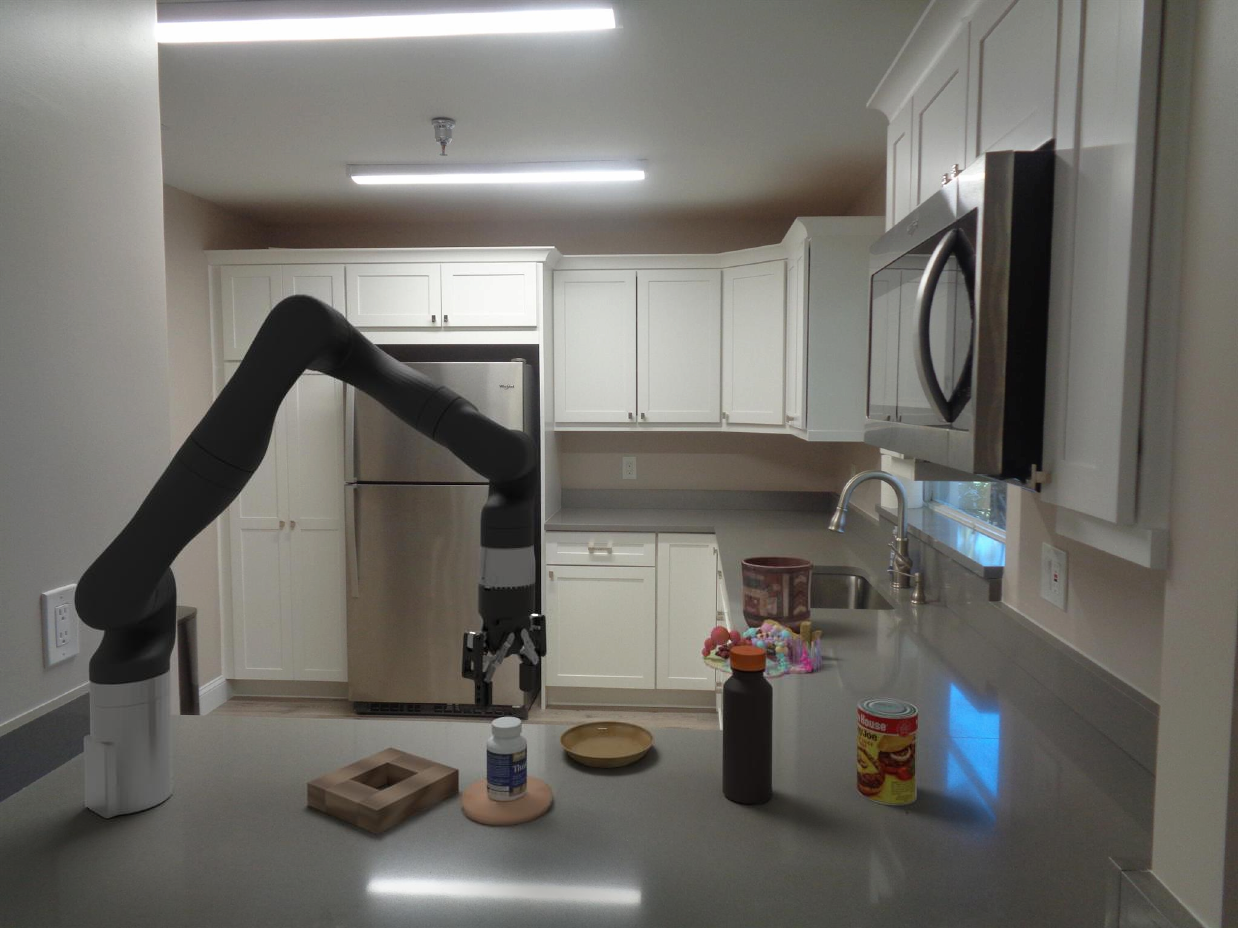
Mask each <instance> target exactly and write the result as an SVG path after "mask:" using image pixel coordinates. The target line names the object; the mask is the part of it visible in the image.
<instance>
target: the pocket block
mask: <svg viewBox="0 0 1238 928" xmlns="http://www.w3.org/2000/svg"><path fill="white" fill-rule="evenodd" d="M459 771H460V770H459V769H458V768H455V767H452V766H449V765H446V764H443V763H440V762H436V761H433V760H430V759H427V758H425V757H420V756H418V755H415V754H412V753H410V752H406V751H402V750H399V749H396V748H395V747H394V748H393V747H388V748H385V749H383V750H381V751H379V752H376V753H374V754H372V755H369V756H366V757H364V758H362V759H360V760H357V761H355V762H353V763H351V764H348V765H346V766H344V767H341V768H338V769H336V770H334V771H331V772H329V773H326V774H325V775H322V776H320V777H318V778H315V779H313V780H310V781H307V782H306V785H307V786H306V789H307V790H306V791H307V806H309V807H312V808H314V809H317V810H318V811H321V812H324V813H326V814H328V815H329V816H330V815H331V816H333V817H335V818H338V819H340V820H343V821H344V822H348V823H349V824H351V825H352V824H353V825H355V826H357V827H359V828H362V829H364V830H367V831H369V832H371V833H373V834H376V835H379V834H380V833H382V832H384V831H386V830H388V829H390V828H392V827H395V826H396V825H398V824H399V823H401V822H403V821H405V820H407V819H409V818H411V817H412V816H414V815H416V814H418V813H420V812H422V811H424V810H425V809H427V808H430V807H431V806H433V805H435V804H436V803H439V802H440V801H442V800H445V799H446V798H448V797H449V796H451V795H453V794H455V793H458V792H459V791H460V782H459V781H460V780H459V778H460V776H459V775H460V774H459V773H460V772H459ZM386 784H389V785H391V786H389V787H386V788H385V789H383V790H380V789H378V788H380V787H382V786H384V785H386Z"/></svg>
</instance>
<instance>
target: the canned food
mask: <svg viewBox="0 0 1238 928" xmlns="http://www.w3.org/2000/svg"><path fill="white" fill-rule="evenodd" d="M918 722H919V710H918V707H916V706H915V705H914V704H912V703H910V702H907V701H904V700H902V699H896V698H893V697H892V698H891V697H884V696H883V697H879V696H875V697H866V698H863V699H860V700H859V701H858V702H857V731H856V732H857V743H856V744H857V745H856V746H857V750H856V751H857V753H856V757H857V758H856V763H857V764H856V790H857V793H858V794H859V795H860V796H862V797H863V798H865V799H866V800H868V801H870V802H873V803H877V804H881V805H885V806H894V807H895V806H906V805H910V804H913V803H914V802H915V801H916V800H917V799H918V797H917V796H918V791H917V790H918V737H919V735H918V734H919V733H918V731H919V730H918V728H919V727H918V726H919V723H918Z"/></svg>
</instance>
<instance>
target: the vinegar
mask: <svg viewBox="0 0 1238 928" xmlns="http://www.w3.org/2000/svg"><path fill="white" fill-rule="evenodd" d="M765 668H766V651H765V650H764V649H763V648H760V647H756V646H736V647H733V648H731V649H730V669H731V670H732V674H731V676H730V677H728V678H727V679H726V680H725V682H723V686H722V781H721V782H722V789H721V791H722V793H723V794H724V796H725V797H726V798H728V799H729V800H731V801H733V802H736V803H738V804H745V805H758V804H762V803H766V802H767V801H769V800H770V799H771V797H772V795H773V709H774V707H773V702H774V701H773V699H774V698H773V697H774V694H773V691H774V689H773V686H772V684H771V683H770V682H769V681H768V680H767V678H764V676H763V672H765Z"/></svg>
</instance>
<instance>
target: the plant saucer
mask: <svg viewBox="0 0 1238 928" xmlns="http://www.w3.org/2000/svg"><path fill="white" fill-rule="evenodd" d="M598 728H607V729H598ZM558 740H559V741H558V742H559V745H560V746H561V747H562V748H563V750H564V751H565V752H566V753H567V754H568V755H569V756H570V757H571V758H572V759H573V760H575V762H578V763H579V764H581V763H582V765H584V766H587V765H588V767H592V766H593V768H605V769H606V768H607V769H608V768H609V769H611V768H619V767H624V766H628V765H630V764H633V763H635V762H637V761H638V760H639V759H641V758H642V757H643V756H644V755H645V754H646V753H647V752H648V751H649V750H650V748H651V747H652V745H653V744H654V740H655V737H654V735H653V733H652V732H651V731H650V730H649V729H647V728H645V727H643V726H641V725H638V724H635V723H630V722H624V721H617V720H613V721H612V720H607V721H606V720H602V721H592V722H591V721H590V722H584V723H581V724H577V725H575V726H572V727H570V728H568V729H566V730H565V731H564V732H562V733H561V734H560V736H559V739H558Z"/></svg>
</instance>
